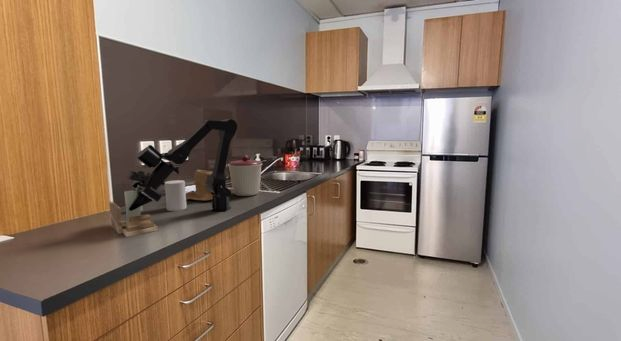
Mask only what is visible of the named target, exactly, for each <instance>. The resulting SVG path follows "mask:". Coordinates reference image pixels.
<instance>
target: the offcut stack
mask: <svg viewBox="0 0 621 341" xmlns="http://www.w3.org/2000/svg"><path fill="white" fill-rule="evenodd" d="M129 219H130V221H127V220H125V221H126V225H125V226H126V228H125V229H126V230H127V231H128V232H131V231H136V230H141V229H146V228H151V227H154V224H155V223H154V222H153V221H152V215H150V214H149V213H147V214H141V215H140V216H135V217H129ZM125 226H124V227H125Z"/></svg>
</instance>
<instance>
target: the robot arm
mask: <svg viewBox="0 0 621 341" xmlns="http://www.w3.org/2000/svg"><path fill="white" fill-rule="evenodd" d="M212 130H213V131H217V133H218V139H219V141H218V146H217V152H216V154H215V156H216V157H215V160H214V165H213V170H212V171H213V172H212V174H211V175H207V181H206V183H205V184H207V185H206V187H207V189H208V190H209V191H210V192H211V194H212V195H214V196H213V199H212V200H211V211H212V212H227V211H229V210H230V209H231V208H232V206H230V197H231V194H232V190H230V189H229V188H228V187H226V185H227V184H226V183H227V180H226V175H225V174H226V173H225V171H226V166H227V163H228V162H227V161H228V157H229V151H230V147H231V142H232V139H233V138H234V137H235V135H236V133H237V130H238V123H237V122H236V120H234V119H233V118H231V119H230V118H229V119H222V120H213V119H205V120H204V121H203V122H202V123H201V124H200V125H199V126H198V127H197V128H196V129H195V130H194V131H193V132H192V133H191V134H190V135H189V136H188V137H187V138H186V139H185V140H184V141H182V142H181V143H179V144H177V145H175V146H173V147H171V149H169V150H168V151H167V152H163V153H160V151H158V150H157V149H156V148H155V147H154V146H153V145H152V144H148V146H146V147H145V148H143V149H142V150H140V151H139V152H138V153H137V154H136V157H135V158H136V159H137V160H138V161H140V162H141V163H142V164H143V165H145V167H147V168H149V169H150V168H154V169H153V170H152V171H151V172H147V173H145V171H143V170H137V171H134V170H129V172H128V175H127V177H126V179H128V180H131V181H132V182H131V183H130V186H131V187H132V188H131V189H132V190H137V197H136V199H135V200H134V202H133V203H132V205H131V206H130V208H129V210H130V211H132V210H134V209H136V208H138V207H140V206H145V205H147V204H149V203H151V202H153V200H154V201H155V202H159V201H160V200H161V198H162V194H161V193H160V192H158V189H159V188H160V187H161V186H165V182H166V180H167V179H168V178H169V177H170V176H171V175H172V174H173V173H174V174H177V175H179V174H180V171H179V168H180V167H179V166H174V164H175V165H182V164H184V163H185V162H186V161H187V159H189V156H190V155H191V152H192V151H193V150H194V148H195V147H196V146H197V145H198V144H199V143H200V142H201V141H203V139H204V138H205V137H206V136H207V135H208V134H209V133H210V132H211V131H212ZM166 161H168V162H166ZM152 199H153V200H152Z"/></svg>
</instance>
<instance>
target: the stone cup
mask: <svg viewBox="0 0 621 341" xmlns="http://www.w3.org/2000/svg"><path fill="white" fill-rule="evenodd" d="M212 172H213V170H205V169H204V170H203V169H196V170H195V171H194V175H193V176H194V177H193V178H194V179H193V180H194V185H195V191H189V192H186V200H187V199H188V200H193V201H200V202H201V201H204V202H207V201H212V199H213V196H214V195H212V194H211V192H210V191H209V190H208V189H207V187H206V185H207V184H205V183H206V181H207V175H211V174H212Z"/></svg>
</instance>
